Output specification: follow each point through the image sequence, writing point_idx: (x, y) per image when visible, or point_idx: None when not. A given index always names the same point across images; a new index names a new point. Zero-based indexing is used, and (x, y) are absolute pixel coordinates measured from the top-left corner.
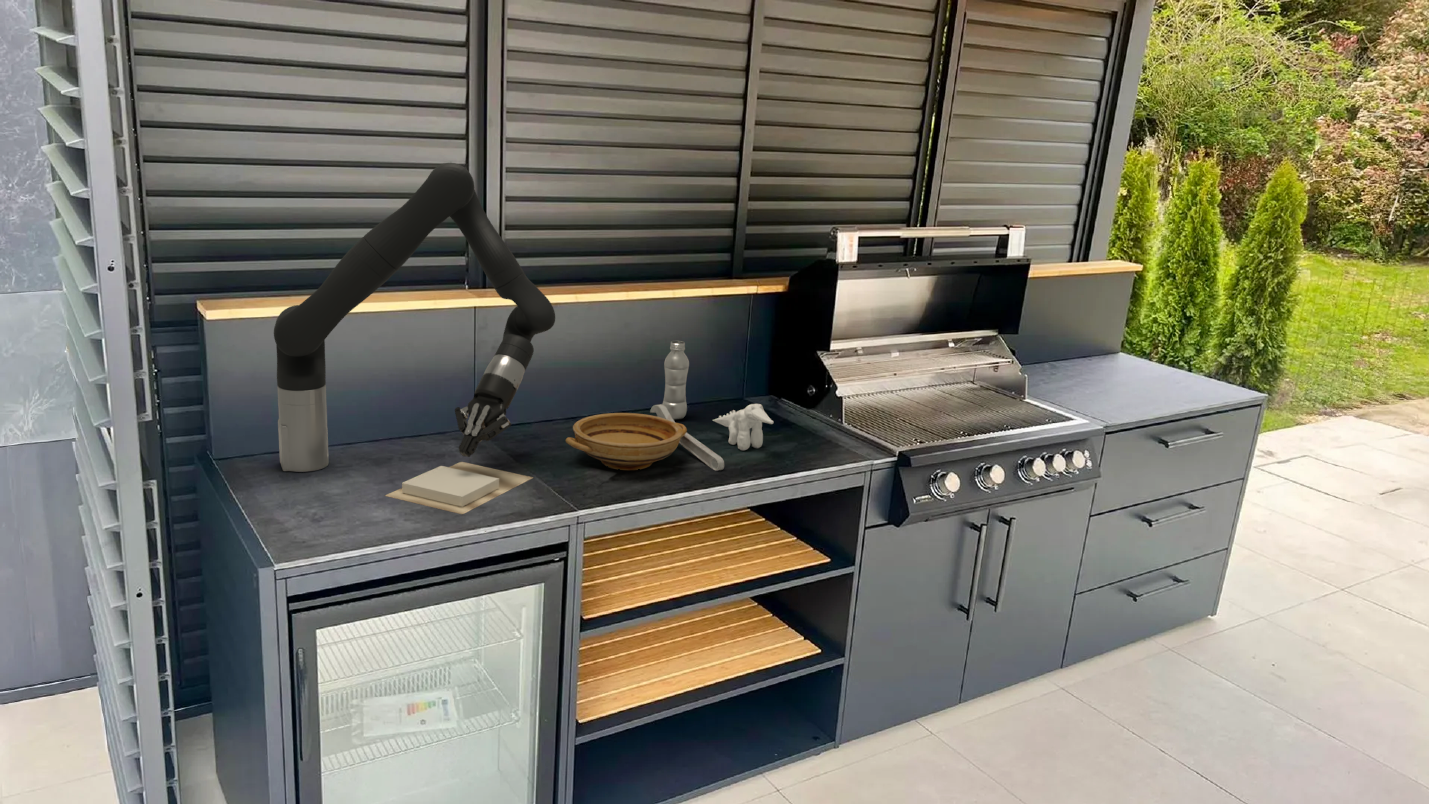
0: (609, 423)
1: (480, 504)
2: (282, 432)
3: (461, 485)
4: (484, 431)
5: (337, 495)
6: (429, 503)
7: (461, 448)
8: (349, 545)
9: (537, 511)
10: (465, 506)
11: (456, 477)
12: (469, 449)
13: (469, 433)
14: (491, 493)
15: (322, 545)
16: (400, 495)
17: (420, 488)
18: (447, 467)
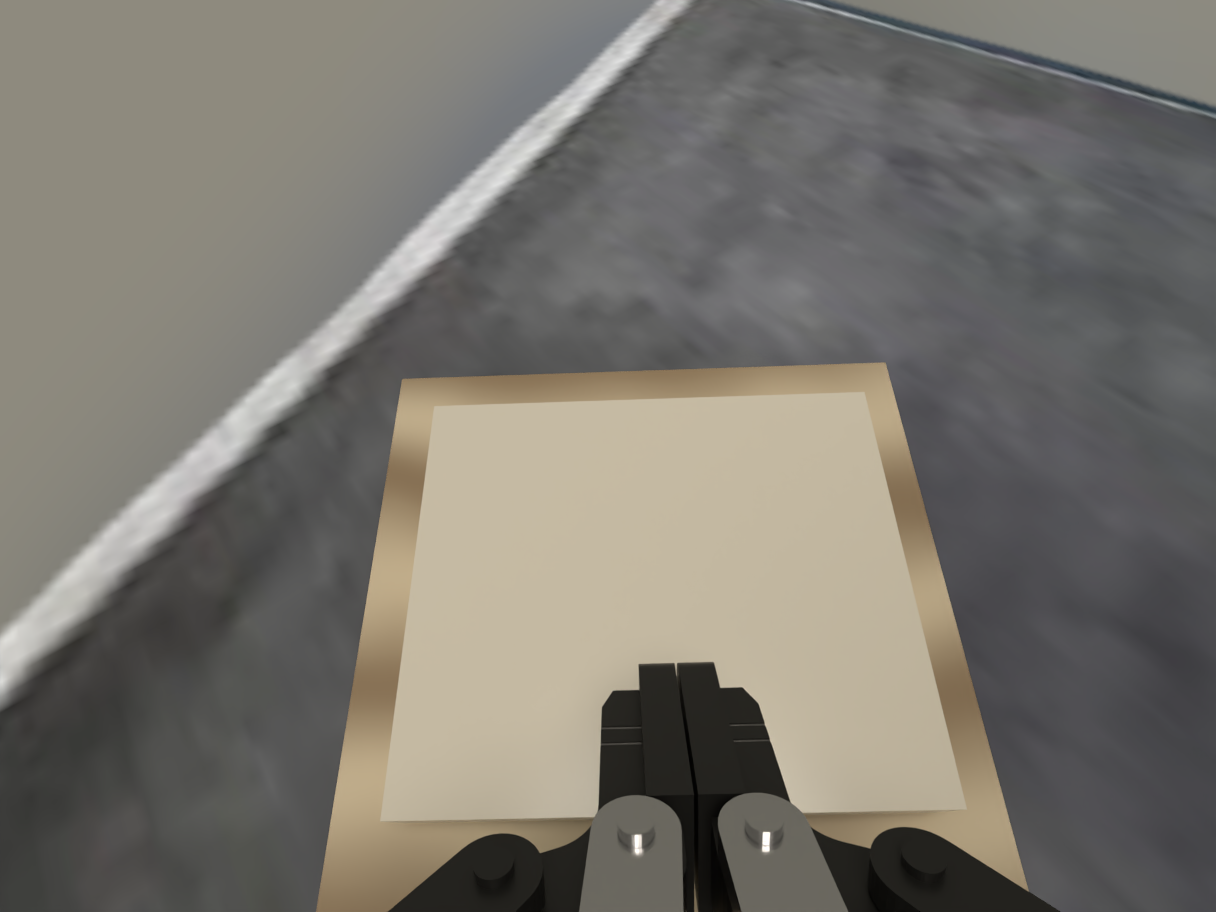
0: None
1: (382, 520)
2: None
3: (543, 540)
4: (477, 886)
5: (1120, 346)
6: (626, 397)
7: (701, 675)
8: (642, 101)
9: (89, 725)
10: None
11: (670, 646)
12: (618, 706)
13: (719, 817)
14: None
15: (710, 71)
16: None
17: (727, 400)
18: (893, 804)
